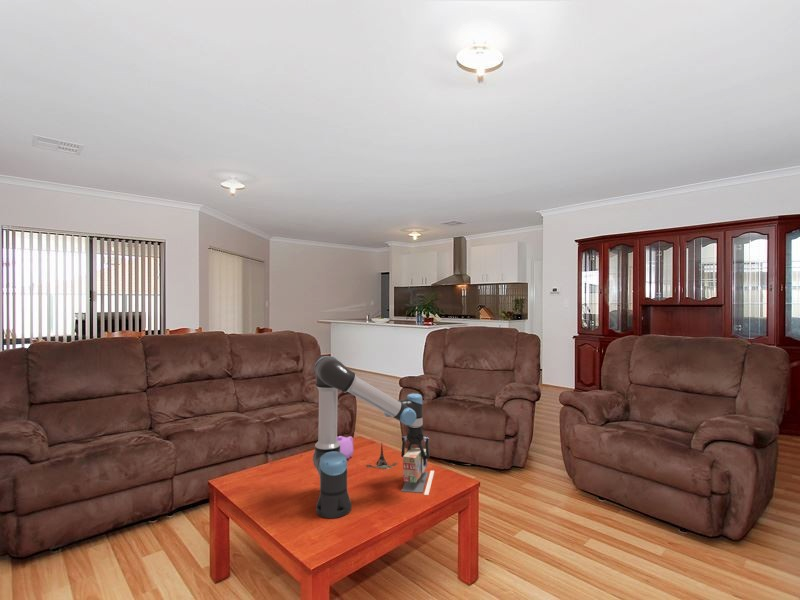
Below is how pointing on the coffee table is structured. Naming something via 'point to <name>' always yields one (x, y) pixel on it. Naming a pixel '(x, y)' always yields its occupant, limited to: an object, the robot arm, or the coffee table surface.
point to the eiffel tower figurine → (382, 462)
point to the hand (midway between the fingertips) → (415, 471)
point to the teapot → (346, 445)
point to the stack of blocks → (413, 465)
